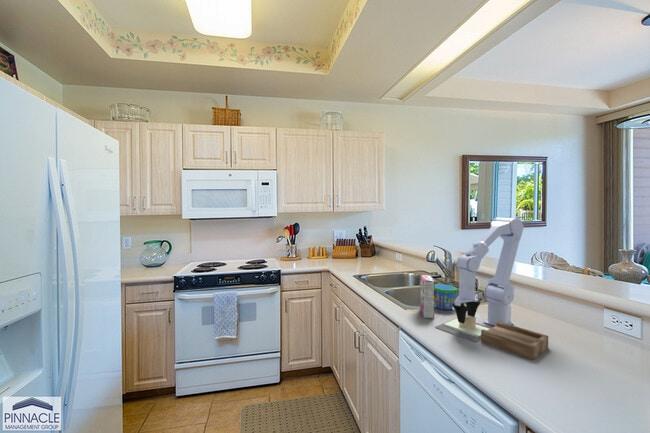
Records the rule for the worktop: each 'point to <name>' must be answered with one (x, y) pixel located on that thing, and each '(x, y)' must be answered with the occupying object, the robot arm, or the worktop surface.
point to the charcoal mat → (460, 334)
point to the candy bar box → (427, 296)
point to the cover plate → (465, 330)
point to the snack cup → (444, 296)
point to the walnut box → (515, 340)
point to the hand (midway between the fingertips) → (466, 320)
